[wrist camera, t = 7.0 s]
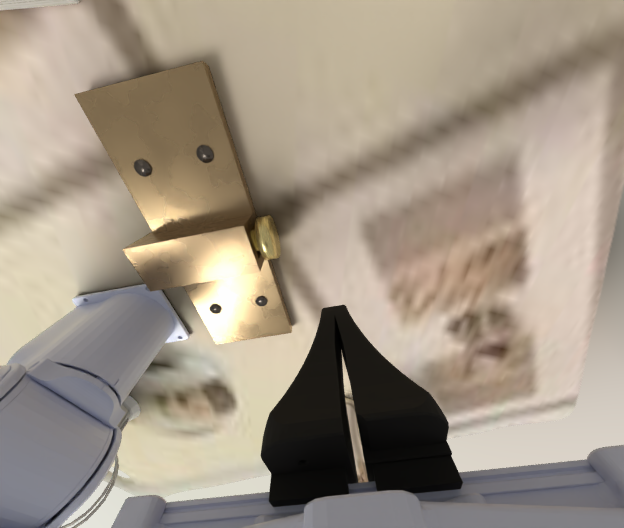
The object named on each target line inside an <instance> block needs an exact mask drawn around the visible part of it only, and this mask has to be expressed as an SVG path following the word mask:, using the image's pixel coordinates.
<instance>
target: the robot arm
mask: <svg viewBox="0 0 624 528" xmlns="http://www.w3.org/2000/svg"><path fill="white" fill-rule="evenodd" d="M72 301H73V303H74V304H75V305H76V306H77V307H76V308H75V309H74V310H72V311H71V312H70V313H68V314H67V315H65V316H64V317H63V318H61V319H60V320H58V321H57V322H56V323H54V324H53V325H52V326H50V327H49V328H47V329H46V330H45V331H43V332H42V333H40V334H39V335H38V336H36V337H35V338H34V339H32V340H31V341H29V342H28V343H27V344H25V345H24V346H23V347H21V348H20V349H19V350H18V351H17V352H16V353H15V354H14V355H13V356H12V357H11V358H10V360H9V361H8V363H7V365H3V366H0V528H59V527H60V526H61V525H62V524H63V523H64V522H65V520H67V519H68V518H69V517H70V516H71V515H72V514H73V513H74V512H75V511H76V510H77V509H78V508H79V507H81V506H82V504H83V503H84V502H85V501H86V500H87V499H88V498H89V497H90V496H91V494H92V493H93V492H94V491H95V490H96V488H97V487H98V486H99V485H100V483H101V482H102V480H103V479H104V477H105V476H106V474H107V473H108V471H109V469H110V468H111V466H112V464H113V462H114V460H115V458H116V455H117V452H118V449H119V446H120V443H121V438H122V433H121V430H120V428H119V427H118V426H117V425H118V424H119V422H120V421H121V419H122V418H123V416H124V415H125V413H126V412H125V411H123V410H122V409H121V407H120V406H121V405H122V403H123V402H124V400H125V399H126V398H127V396H128V395H129V393H130V392H131V390H132V389H133V388H134V386H135V385H136V383H137V382H138V381H139V379H140V378H141V376H142V375H143V373H144V372H145V371H146V369H147V368H148V366H149V365H150V364H151V362H152V361H153V359H154V358H155V356H156V355H157V354H158V352H159V351H160V349H161V348H162V346H163V345H164V344H165V343H168V342H175V341H181V340H187V339H188V338H189V337H190V334H189V333H188V331H187V329H186V328H185V326H184V325H183V323H182V321H181V320H180V318H179V317H178V315H177V314H176V312H175V310H174V309H173V307H172V306H171V304H170V302H169V301H168V299H167V298H166V296H165V295H164V293H163V291H162V290H157V291H151V292H150V290H149V289H148V287H147V286H146V284H141V285H136V286H130V287H124V288H119V289H113V290H108V291H102V292H97V293H91V294H86V295H80V296H76V297H74V298H73V299H72ZM341 350H342V353H343V357H344V361H345V365H346V369H347V372H348V376H349V380H350V384H351V389H352V395H353V401H354V406H355V412H356V418H357V423H358V428H359V434H360V439H361V444H362V450H363V456H364V461H365V466H366V472H367V477H368V482H362V483H358V477H357V471H356V464H355V458H354V452H353V445H352V439H351V433H350V426H349V420H348V413H347V407H346V400H345V394H344V384H343V369H342V354H341ZM448 428H449V426H448V421H447V419H446V417H445V415H444V414H443V412H442V410H441V409H440V407H439V406H438V404H437V403H436V401H435V400H434V399H433V397H432V396H431V395H430V394H429V392H427V391H426V390H424V389H423V388H421V387H420V386H418V385H417V384H416V383H414V382H413V381H412V380H410V379H409V378H408V377H406V376H405V375H404V374H403V373H401V372H400V371H399V370H398V369H397V368H396V367H394V366H393V365H392V364H391V363H390V362H389V361H388V360H386V359H385V358H384V357H383V356H382V355H381V354H380V353H379V352H378V351H377V350H376V349H375V347H374V346H373V345H372V344H371V343H370V342H369V341H368V339H367V338H366V337H365V336H364V335H363V333H362V332H361V331H360V329H359V328H358V326H357V325H356V324H355V322H354V321H353V319H352V317H351V316H350V314H349V312H348V310H347V308H346V306H345V305H340V306H334V307H328V308H323V309H322V312H321V318H320V323H319V326H318V330H317V333H316V336H315V339H314V341H313V344H312V347H311V349H310V351H309V354H308V356H307V358H306V360H305V362H304V364H303V366H302V368H301V369H300V371H299V373H298V375H297V376H296V378H295V380H294V381H293V383H292V384H291V386H290V387H289V389H288V390H287V392H286V393H285V395H284V396H283V397H282V399H281V400H280V401H279V402H278V404H277V405H276V406H275V407H274V409H273V410H272V411H271V413H270V414H269V417H268V420H267V424H266V427H265V431H264V436H263V442H262V450H261V458H262V460H263V462H264V463H265V465H266V466H267V468H268V469H269V471H270V472H271V484H270V492H265V493H255V494H245V495H235V496H226V497H216V498H207V499H196V500H187V501H177V502H167V503H166V501H165V500H164V499H163V498H162V497H160V496H156V495H146V496H137V497H128V498H127V499H126V500H125V502H124V504H123V506H122V508H121V510H120V512H119V514H118V515H117V518H116V520H115V521H114V523H113V525H112V527H111V528H624V445H619V446H611V447H602V448H598V449H596V450H593V451H592V452H591V453H590V454H589V455H588V457H587V460H578V461H568V462H558V463H548V464H538V465H528V466H519V467H509V468H499V469H490V470H480V471H470V472H460V473H459V472H458V470H457V468H456V466H455V463H454V461H453V459H452V457H451V455H452V453H451V450H450V448H449V445H448V443H447V441H446V440H447V434H448Z"/></svg>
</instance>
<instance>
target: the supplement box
mask: <svg viewBox="0 0 624 528" xmlns="http://www.w3.org/2000/svg"><path fill="white" fill-rule="evenodd" d="M78 3H80V0H0V10H12V9H24V8H36V7H47V6H59V5H69V4H78Z"/></svg>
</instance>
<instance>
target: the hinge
mask: <svg viewBox="0 0 624 528" xmlns="http://www.w3.org/2000/svg"><path fill="white" fill-rule="evenodd" d="M74 95H75V97H76V98H77V100H78V102H79V104H80V105H81V107H82V109H83V111H84V112H85V114H86V116H87V118H88V119H89V121H90V123H91V125H92V127H93V128H94V130H95V132H96V134H97V135H98V137H99V139H100V141H101V142H102V144H103V146H104V148H105V149H106V151H107V153H108V155H109V156H110V158H111V160H112V162H113V163H114V165H115V167H116V169H117V170H118V172H119V174H120V176H121V177H122V179H123V181H124V183H125V184H126V186H127V188H128V190H129V192H130V193H131V195H132V197H133V199H134V200H135V202H136V204H137V206H138V207H139V209H140V211H141V213H142V214H143V216H144V218H145V220H146V221H147V223H148V225H149V227H150V228H151V230H152V232H151V233H149V234H148V235H146V236H144V237H143V238H141V239H139V240H138V241H136V242H134V243H133V244H131V245H129V246H128V247H126V248H124V249H122V250H123V251H124V253H125V254H126V256H127V257H128V259H129V260H130V262H131V263H132V265H133V266H134V268H135V269H136V271H137V272H138V274H139V275H140V277H141V278H142V280H143V281H144V283H145V284H146V286H147V287H148V289H149V290H150V292H151V291H157V290H163V289H168V288H174V287H180V286H184V288H185V290H186V292H187V293H188V295H189V297H190V299H191V300H192V302H193V304H194V306H195V308H196V309H197V311H198V313H199V315H200V316H201V318H202V320H203V322H204V323H205V325H206V327H207V329H208V330H209V332H210V334H211V336H212V337H213V339H214V341H215V343H216V344H221V343H228V342H234V341H241V340H247V339H254V338H260V337H267V336H273V335H280V334H286V333H292V325H291V321H290V318H289V315H288V312H287V309H286V306H285V303H284V300H283V297H282V293H281V290H280V287H279V284H278V281H277V278H276V275H275V272H274V268H273V265H272V262H271V259H270V260H265V259H264V258H263V257H262V255H261V253H260V251H256V249H255V246H254V243H253V240H252V238H251V235H250V231H251V230H255V220H256V218H257V215H256V212H255V209H254V206H253V203H252V200H251V197H250V194H249V191H248V187H247V184H246V181H245V178H244V175H243V172H242V169H241V166H240V163H239V159H238V156H237V153H236V150H235V147H234V144H233V141H232V138H231V134H230V131H229V128H228V125H227V122H226V119H225V116H224V113H223V110H222V106H221V103H220V100H219V97H218V94H217V91H216V88H215V85H214V81H213V78H212V75H211V72H210V69H209V66H208V65H207V64H206V63H204V62H203V61H200V62H196V63H193V64H189V65H185V66H181V67H177V68H173V69H170V70H166V71H162V72H158V73H154V74H151V75H147V76H143V77H139V78H135V79H131V80H128V81H124V82H120V83H116V84H112V85H108V86H105V87H101V88H97V89H93V90H89V91H86V92H82V93H78V94H74Z"/></svg>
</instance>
